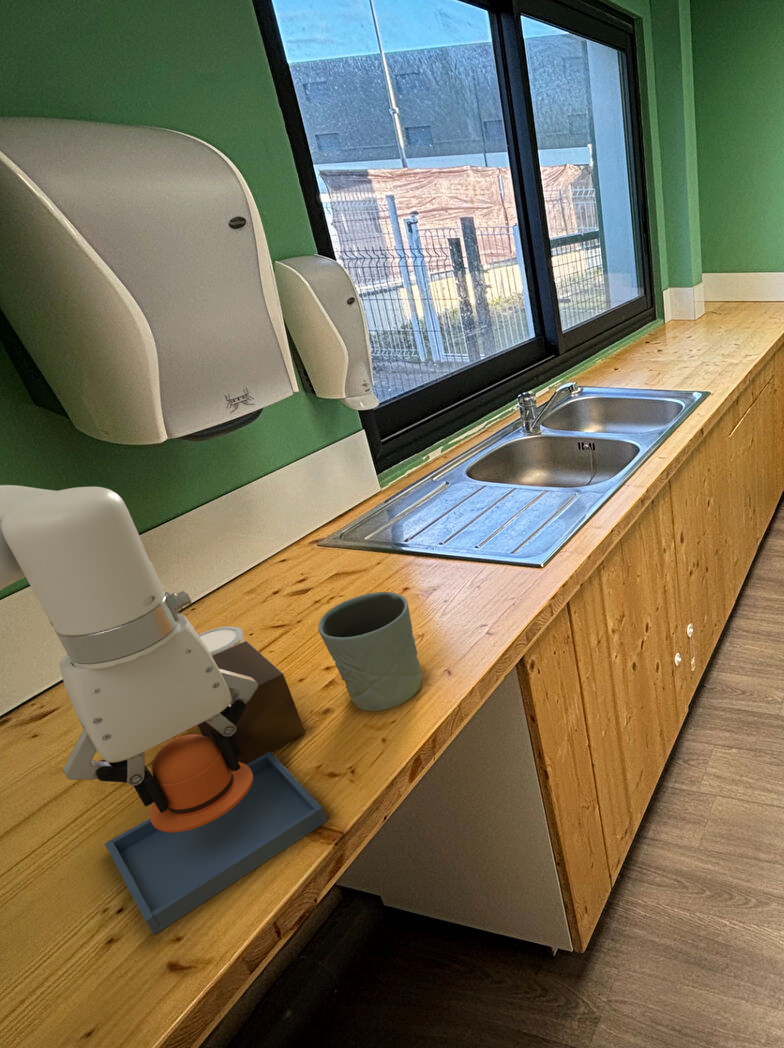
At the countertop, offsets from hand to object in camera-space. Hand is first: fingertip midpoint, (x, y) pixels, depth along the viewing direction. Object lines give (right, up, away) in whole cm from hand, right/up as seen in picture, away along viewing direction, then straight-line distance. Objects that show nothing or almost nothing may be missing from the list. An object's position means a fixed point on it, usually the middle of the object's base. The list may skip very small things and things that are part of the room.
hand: (196, 782), depth 68 cm
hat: (0, -2, +1) cm, 2 cm away
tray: (0, -7, +3) cm, 8 cm away
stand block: (-7, -1, +17) cm, 18 cm away
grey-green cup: (+7, +3, +24) cm, 25 cm away
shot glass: (-15, +3, +26) cm, 30 cm away
